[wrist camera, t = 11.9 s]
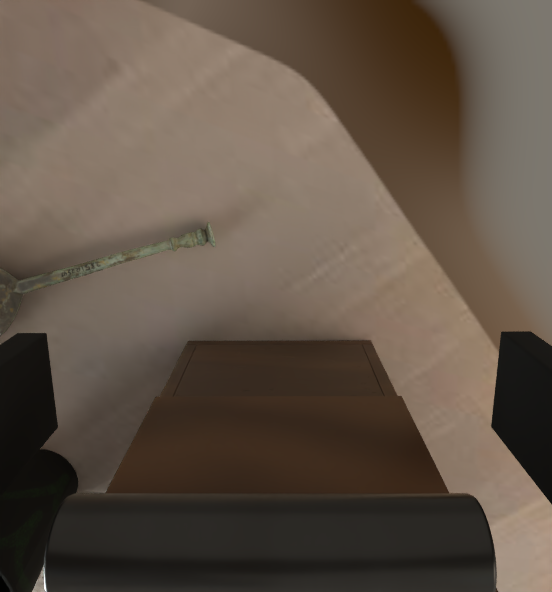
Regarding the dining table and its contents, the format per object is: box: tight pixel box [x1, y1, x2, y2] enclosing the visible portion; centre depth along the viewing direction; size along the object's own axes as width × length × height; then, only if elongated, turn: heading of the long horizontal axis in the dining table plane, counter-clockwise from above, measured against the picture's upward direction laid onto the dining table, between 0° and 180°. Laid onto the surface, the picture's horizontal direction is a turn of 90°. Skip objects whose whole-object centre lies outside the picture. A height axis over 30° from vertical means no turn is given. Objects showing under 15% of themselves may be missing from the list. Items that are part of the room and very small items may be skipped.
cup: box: [0, 450, 78, 592], centre depth 37 cm, size 8×8×12 cm
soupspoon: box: [0, 222, 215, 336], centre depth 37 cm, size 22×3×7 cm
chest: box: [160, 341, 397, 397], centre depth 37 cm, size 20×14×10 cm
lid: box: [43, 396, 498, 592], centre depth 18 cm, size 21×14×7 cm
